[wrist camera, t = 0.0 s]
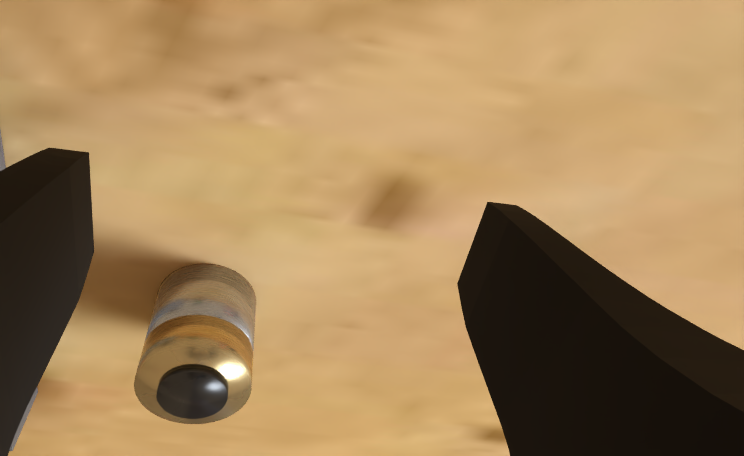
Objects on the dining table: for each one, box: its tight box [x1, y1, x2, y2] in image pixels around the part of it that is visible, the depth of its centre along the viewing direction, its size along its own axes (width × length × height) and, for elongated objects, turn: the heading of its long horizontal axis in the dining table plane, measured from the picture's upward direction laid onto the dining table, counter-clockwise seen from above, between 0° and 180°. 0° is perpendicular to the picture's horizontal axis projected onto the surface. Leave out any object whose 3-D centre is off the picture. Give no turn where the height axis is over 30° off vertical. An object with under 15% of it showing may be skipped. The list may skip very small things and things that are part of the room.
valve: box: [134, 264, 256, 424], centre depth 23 cm, size 4×4×5 cm
